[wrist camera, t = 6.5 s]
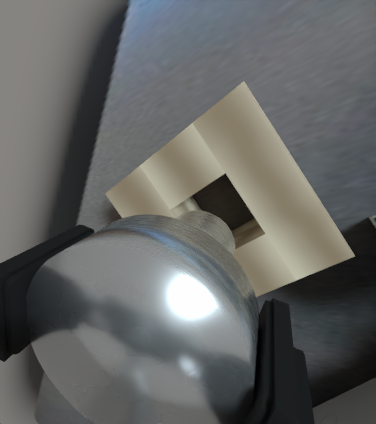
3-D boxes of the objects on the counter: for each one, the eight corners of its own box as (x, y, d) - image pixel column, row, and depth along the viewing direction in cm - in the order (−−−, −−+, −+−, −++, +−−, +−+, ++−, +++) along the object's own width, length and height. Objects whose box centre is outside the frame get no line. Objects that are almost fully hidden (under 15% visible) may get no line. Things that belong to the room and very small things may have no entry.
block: (209, 286, 28) (195, 322, 23) (137, 182, 28) (105, 193, 22) (334, 227, 23) (355, 256, 17) (250, 94, 22) (244, 81, 16)
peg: (187, 313, 16) (116, 464, 9) (122, 222, 16) (-10, 304, 8) (290, 269, 13) (313, 440, 6) (215, 156, 13) (137, 191, 5)
